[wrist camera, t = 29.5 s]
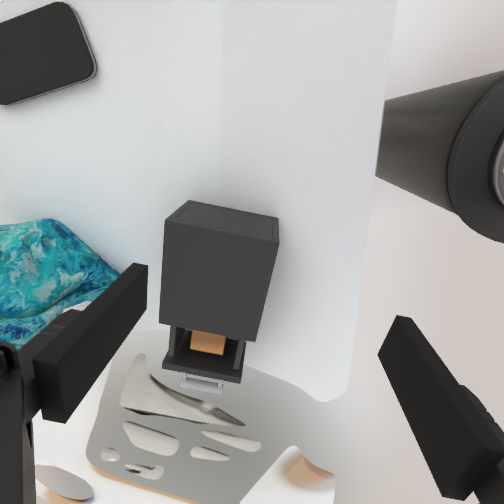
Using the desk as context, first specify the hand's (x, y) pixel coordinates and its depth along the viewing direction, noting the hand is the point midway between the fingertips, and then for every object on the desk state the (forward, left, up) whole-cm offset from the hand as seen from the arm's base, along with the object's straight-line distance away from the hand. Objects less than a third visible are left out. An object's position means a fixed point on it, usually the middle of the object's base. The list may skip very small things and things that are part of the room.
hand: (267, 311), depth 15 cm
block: (+5, +21, -25) cm, 33 cm away
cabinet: (+5, +10, -27) cm, 29 cm away
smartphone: (+32, -11, -27) cm, 43 cm away
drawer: (+5, +23, -26) cm, 35 cm away
